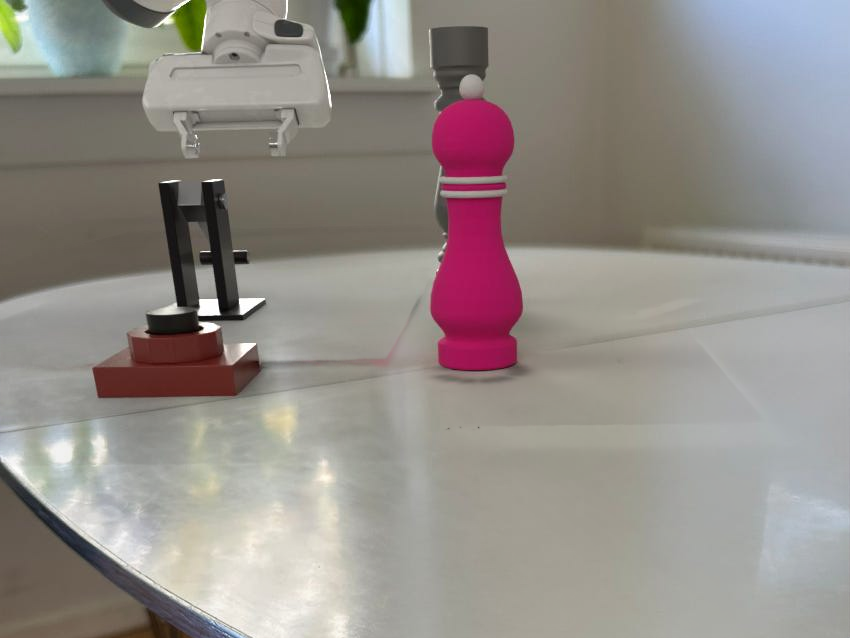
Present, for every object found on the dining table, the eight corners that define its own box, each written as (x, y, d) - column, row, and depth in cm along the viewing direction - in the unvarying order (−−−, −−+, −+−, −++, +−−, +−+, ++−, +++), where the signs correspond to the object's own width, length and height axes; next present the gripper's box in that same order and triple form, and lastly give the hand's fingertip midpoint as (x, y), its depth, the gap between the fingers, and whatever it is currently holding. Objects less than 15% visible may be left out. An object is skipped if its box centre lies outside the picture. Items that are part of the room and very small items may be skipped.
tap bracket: (181, 315, 103) (160, 179, 97) (267, 313, 103) (251, 177, 97) (150, 332, 94) (125, 184, 89) (244, 331, 94) (225, 182, 88)
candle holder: (459, 297, 110) (451, 33, 98) (506, 301, 107) (503, 28, 95) (425, 305, 105) (412, 29, 94) (472, 309, 102) (465, 24, 91)
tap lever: (202, 272, 104) (203, 250, 105) (249, 271, 104) (250, 249, 104) (162, 205, 92) (163, 181, 93) (216, 204, 92) (216, 180, 92)
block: (97, 398, 71) (86, 341, 69) (134, 374, 78) (125, 321, 77) (236, 396, 71) (228, 338, 69) (260, 371, 78) (254, 318, 76)
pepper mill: (435, 354, 83) (424, 78, 73) (522, 352, 82) (522, 75, 73) (429, 373, 76) (415, 73, 67) (523, 371, 76) (523, 70, 67)
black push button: (143, 340, 71) (138, 315, 71) (158, 331, 75) (154, 307, 74) (192, 339, 71) (188, 314, 71) (206, 330, 75) (202, 306, 74)
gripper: (140, 30, 108) (126, 132, 104) (327, 25, 108) (320, 127, 104) (160, 79, 114) (148, 177, 110) (337, 74, 114) (331, 172, 110)
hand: (233, 152), depth 107 cm, fingers open, 8 cm apart
